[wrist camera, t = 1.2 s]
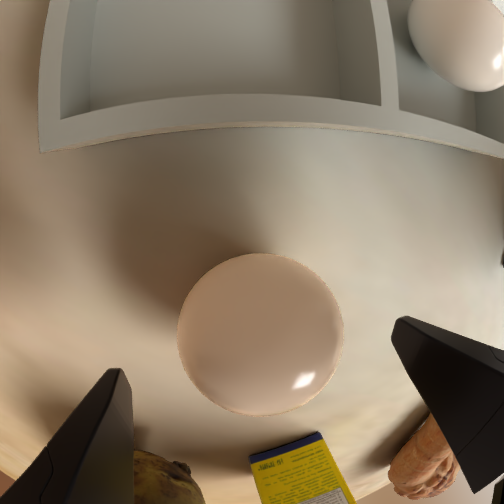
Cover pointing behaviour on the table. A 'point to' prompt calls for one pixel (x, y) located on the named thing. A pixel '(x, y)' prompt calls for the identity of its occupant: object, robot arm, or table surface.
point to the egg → (460, 41)
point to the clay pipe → (424, 464)
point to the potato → (163, 481)
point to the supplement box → (300, 474)
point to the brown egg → (260, 334)
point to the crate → (248, 72)
